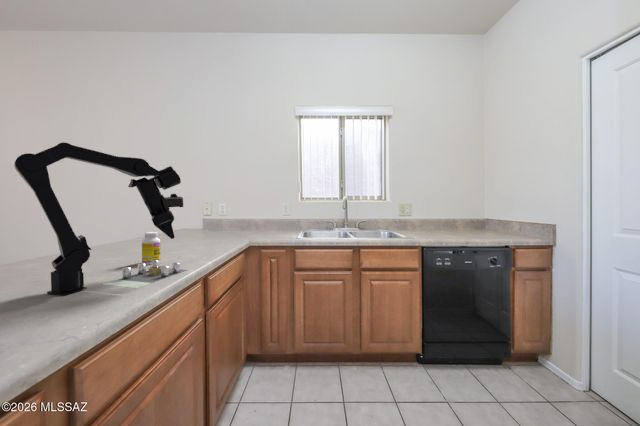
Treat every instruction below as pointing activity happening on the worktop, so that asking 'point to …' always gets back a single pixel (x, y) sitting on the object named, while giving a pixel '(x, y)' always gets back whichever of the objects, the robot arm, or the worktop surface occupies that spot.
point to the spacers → (142, 267)
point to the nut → (155, 271)
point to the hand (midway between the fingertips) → (171, 235)
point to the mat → (140, 280)
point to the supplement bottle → (150, 248)
